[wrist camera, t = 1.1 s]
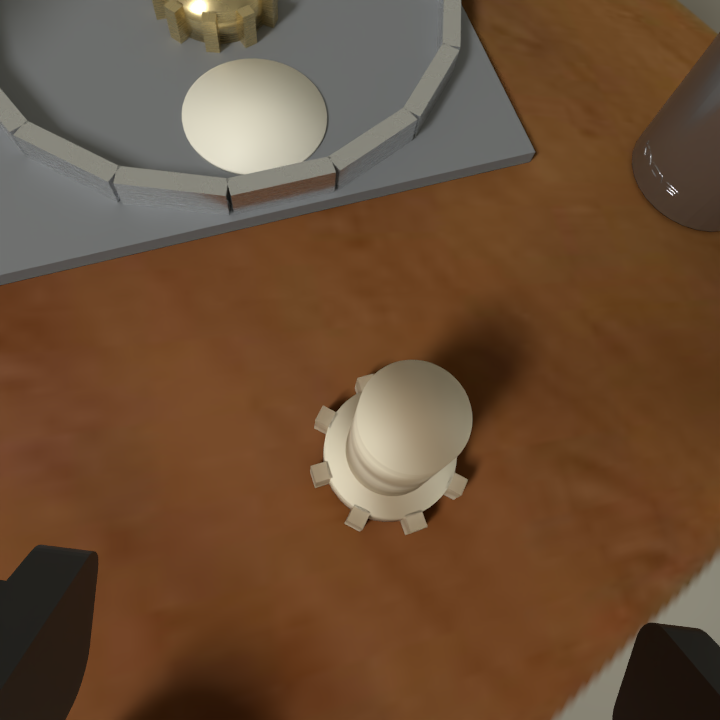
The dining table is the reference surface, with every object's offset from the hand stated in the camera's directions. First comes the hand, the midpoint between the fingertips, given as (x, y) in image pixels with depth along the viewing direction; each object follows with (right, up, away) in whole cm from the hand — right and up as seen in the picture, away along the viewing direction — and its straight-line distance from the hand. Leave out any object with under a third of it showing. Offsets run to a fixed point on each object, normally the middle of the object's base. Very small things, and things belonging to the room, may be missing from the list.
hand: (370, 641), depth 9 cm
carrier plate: (-10, +28, +35) cm, 46 cm away
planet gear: (+1, -1, +25) cm, 25 cm away
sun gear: (-10, +28, +35) cm, 46 cm away
